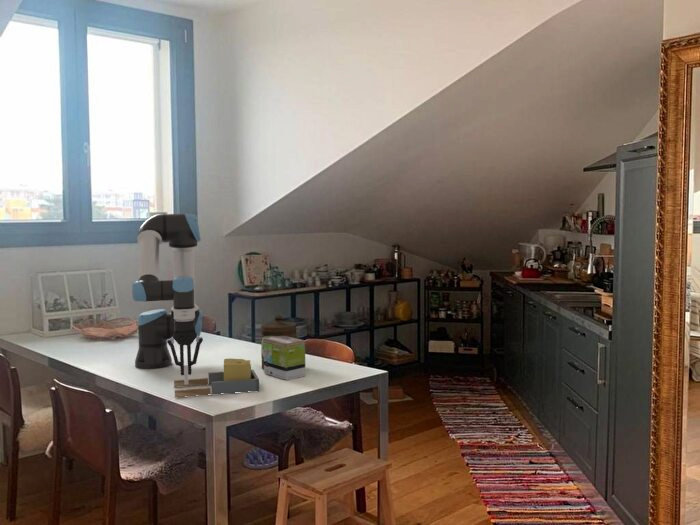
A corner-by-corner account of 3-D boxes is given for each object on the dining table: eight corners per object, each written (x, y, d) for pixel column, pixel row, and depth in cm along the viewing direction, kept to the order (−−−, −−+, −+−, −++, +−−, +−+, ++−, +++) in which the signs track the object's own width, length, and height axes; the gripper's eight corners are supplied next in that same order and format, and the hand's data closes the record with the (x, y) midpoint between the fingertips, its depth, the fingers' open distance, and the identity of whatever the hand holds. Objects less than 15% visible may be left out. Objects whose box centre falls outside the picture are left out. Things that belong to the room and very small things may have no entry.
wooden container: (257, 370, 288) (255, 317, 287) (267, 362, 303) (266, 312, 301) (292, 372, 286) (291, 318, 284) (301, 364, 300) (300, 312, 298)
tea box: (263, 374, 283) (262, 337, 282) (283, 370, 290) (282, 334, 288) (286, 380, 272) (285, 342, 271) (306, 376, 279) (305, 339, 277)
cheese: (252, 383, 269) (251, 357, 268) (251, 390, 258) (250, 363, 257) (224, 384, 268) (223, 358, 267) (222, 391, 257) (222, 364, 256)
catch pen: (208, 384, 268) (208, 372, 267) (253, 381, 272) (253, 369, 272) (211, 395, 252) (211, 382, 252) (259, 391, 257) (258, 379, 256)
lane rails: (174, 386, 264) (173, 380, 264) (208, 384, 268) (207, 377, 267) (174, 397, 249) (174, 391, 249) (210, 395, 252) (210, 388, 252)
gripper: (166, 322, 250) (168, 387, 253) (203, 320, 254) (205, 384, 256) (165, 319, 258) (167, 382, 260) (202, 317, 261) (203, 379, 263)
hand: (186, 383), depth 258 cm, fingers closed
